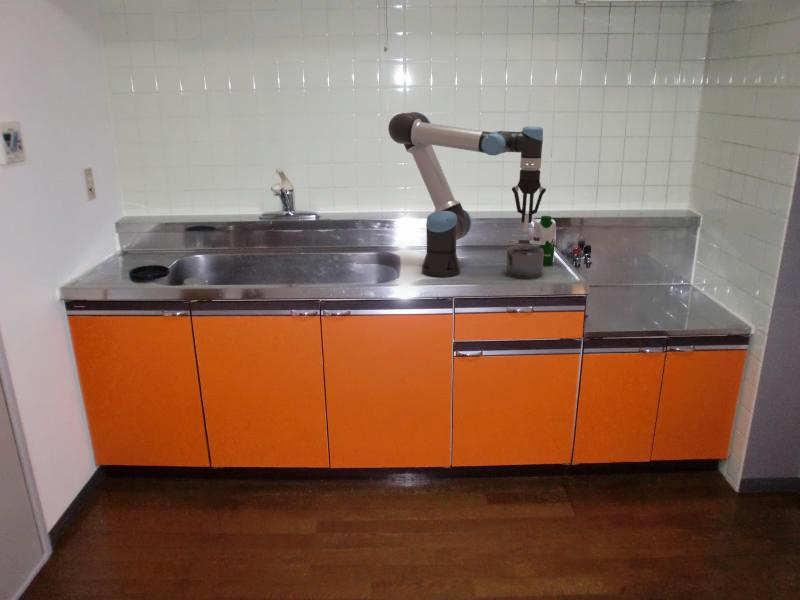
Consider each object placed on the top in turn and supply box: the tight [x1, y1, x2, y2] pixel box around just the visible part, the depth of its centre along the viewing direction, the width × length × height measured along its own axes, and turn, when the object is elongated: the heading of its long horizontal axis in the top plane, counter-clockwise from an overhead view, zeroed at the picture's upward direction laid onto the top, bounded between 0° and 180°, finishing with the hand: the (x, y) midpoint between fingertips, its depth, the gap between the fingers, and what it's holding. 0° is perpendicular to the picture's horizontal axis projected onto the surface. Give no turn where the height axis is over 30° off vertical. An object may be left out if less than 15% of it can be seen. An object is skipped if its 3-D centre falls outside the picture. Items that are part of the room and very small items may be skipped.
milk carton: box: [532, 215, 557, 266], centre depth 253 cm, size 9×9×20 cm
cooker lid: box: [506, 236, 545, 246], centre depth 236 cm, size 15×16×3 cm
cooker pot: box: [505, 244, 544, 280], centre depth 240 cm, size 14×15×10 cm
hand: (525, 230), depth 238 cm, fingers closed
